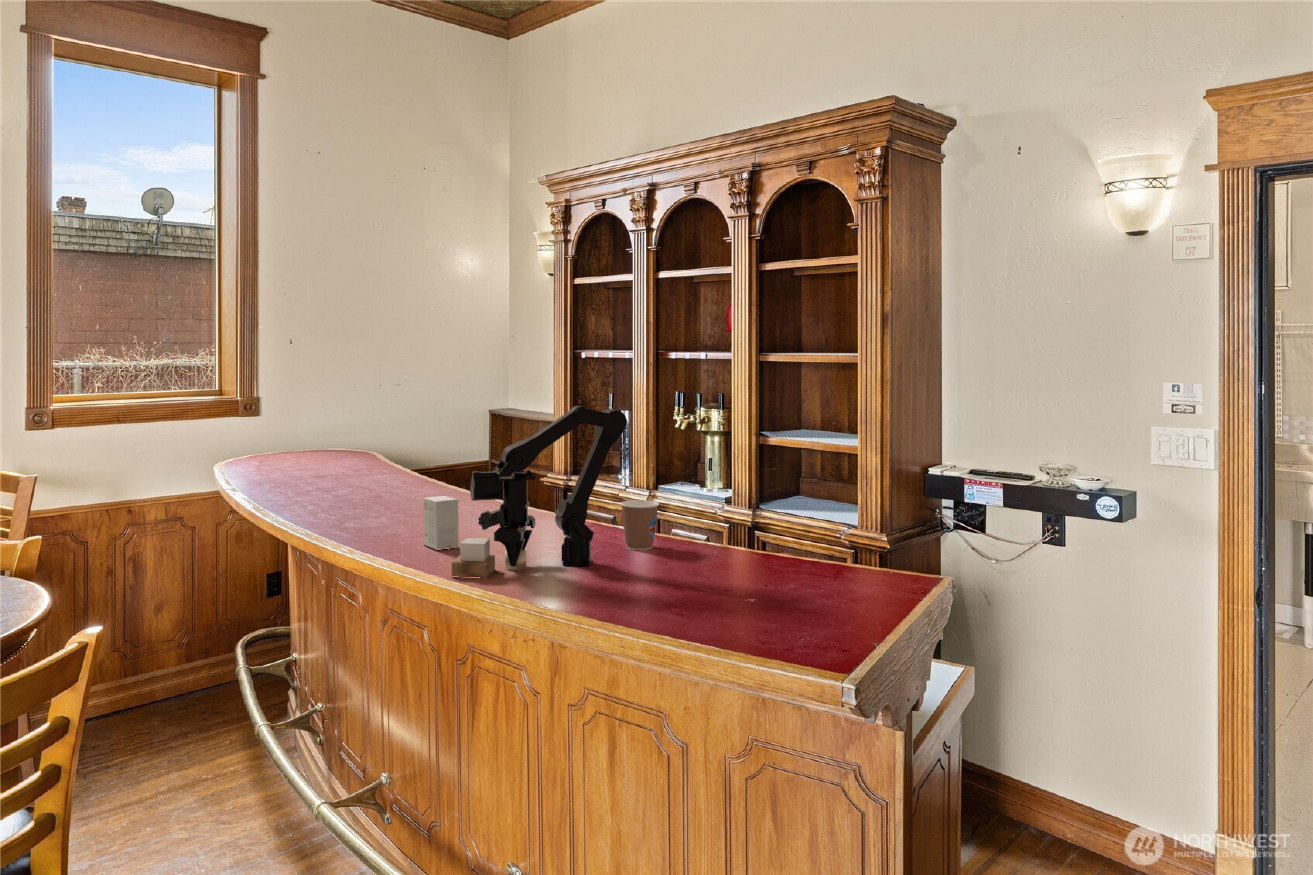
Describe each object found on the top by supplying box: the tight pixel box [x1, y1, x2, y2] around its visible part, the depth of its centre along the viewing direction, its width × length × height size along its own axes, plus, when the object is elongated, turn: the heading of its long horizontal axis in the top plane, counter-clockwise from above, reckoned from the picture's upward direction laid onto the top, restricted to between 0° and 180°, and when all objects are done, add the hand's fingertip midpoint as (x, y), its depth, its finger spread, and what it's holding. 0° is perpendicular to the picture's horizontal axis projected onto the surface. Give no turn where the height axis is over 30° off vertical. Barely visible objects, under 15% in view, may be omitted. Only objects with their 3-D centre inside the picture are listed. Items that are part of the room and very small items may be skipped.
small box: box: [423, 495, 459, 549], centre depth 219 cm, size 8×6×13 cm
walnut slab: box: [451, 554, 496, 579], centre depth 193 cm, size 8×8×4 cm
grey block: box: [459, 537, 491, 561], centre depth 192 cm, size 6×6×4 cm
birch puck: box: [504, 549, 527, 572], centre depth 199 cm, size 5×5×4 cm
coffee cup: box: [620, 499, 660, 551], centre depth 222 cm, size 10×10×12 cm
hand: (515, 563), depth 199 cm, fingers open, 5 cm apart
